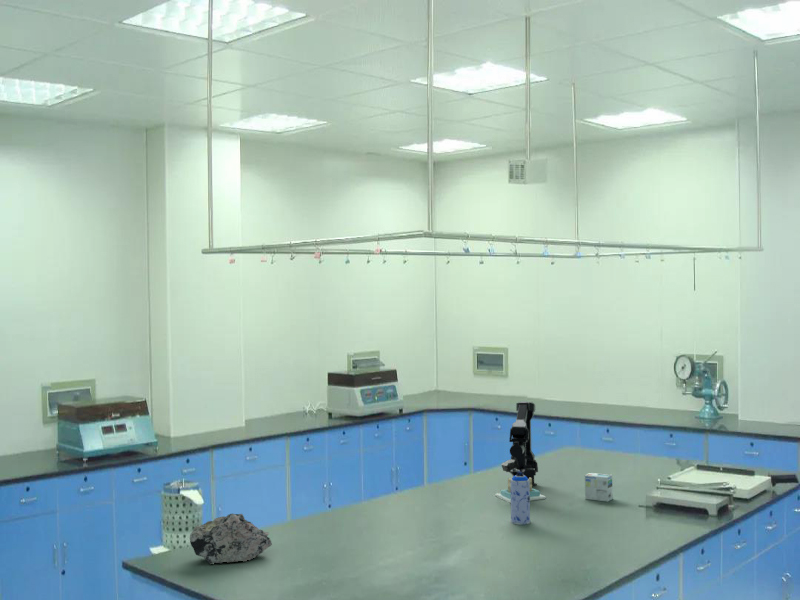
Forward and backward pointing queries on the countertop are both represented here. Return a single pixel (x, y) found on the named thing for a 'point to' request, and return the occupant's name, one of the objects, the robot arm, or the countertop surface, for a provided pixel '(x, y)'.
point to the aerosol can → (520, 499)
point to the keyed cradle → (507, 495)
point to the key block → (510, 484)
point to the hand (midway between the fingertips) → (520, 488)
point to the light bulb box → (598, 487)
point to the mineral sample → (229, 540)
